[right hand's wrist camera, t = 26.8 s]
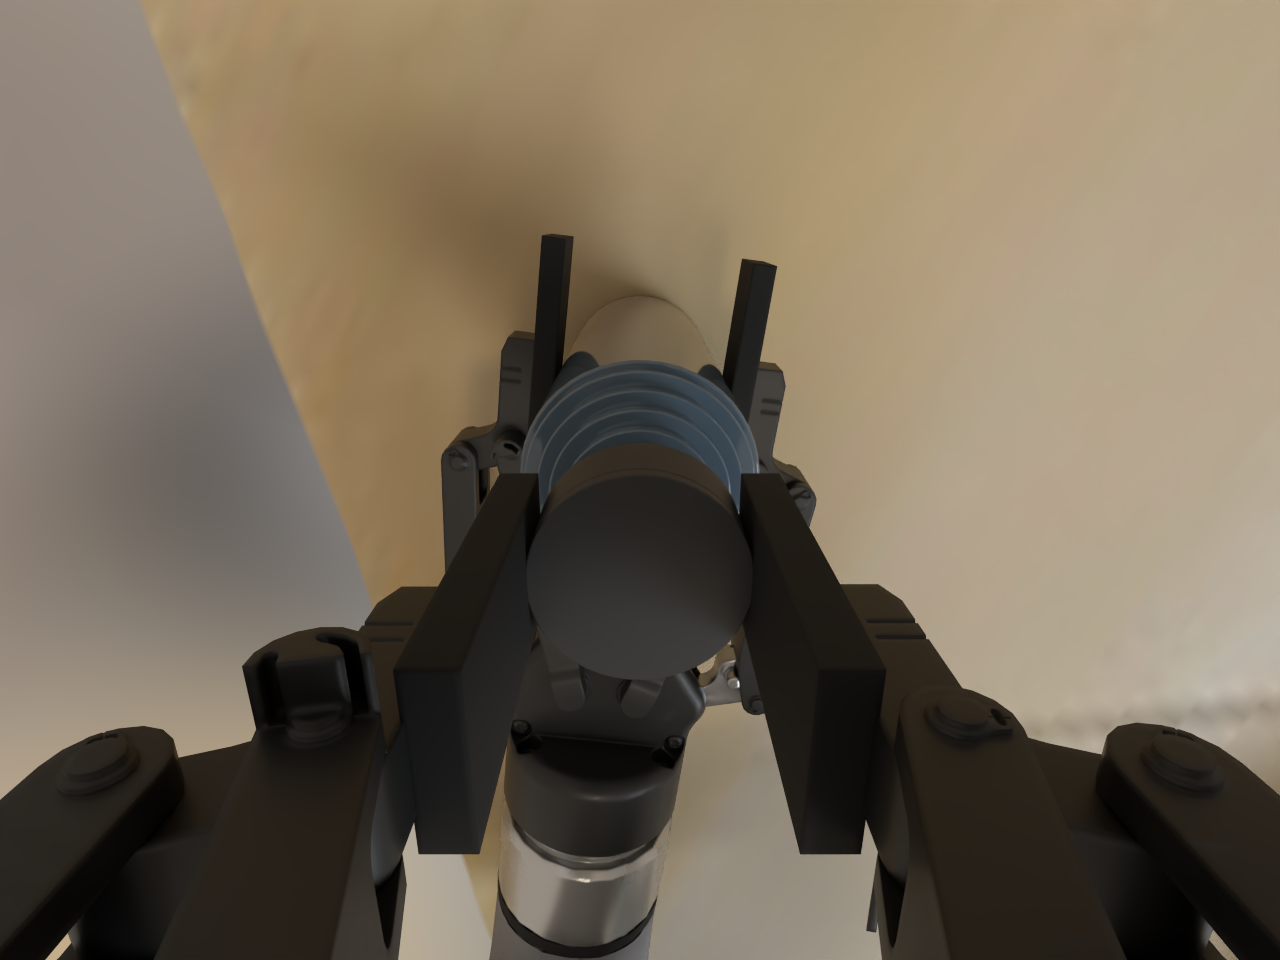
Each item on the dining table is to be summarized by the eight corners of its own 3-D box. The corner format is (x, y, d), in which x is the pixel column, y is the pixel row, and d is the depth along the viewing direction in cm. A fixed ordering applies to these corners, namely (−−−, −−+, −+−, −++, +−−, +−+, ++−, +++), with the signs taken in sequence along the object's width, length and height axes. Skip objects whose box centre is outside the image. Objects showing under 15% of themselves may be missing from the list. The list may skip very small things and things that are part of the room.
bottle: (634, 453, 33) (627, 741, 15) (545, 358, 32) (416, 548, 13) (733, 369, 32) (860, 573, 14) (646, 266, 30) (654, 337, 12)
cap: (738, 624, 15) (751, 679, 13) (545, 628, 15) (533, 683, 13) (744, 439, 14) (759, 472, 12) (531, 444, 14) (514, 477, 12)
